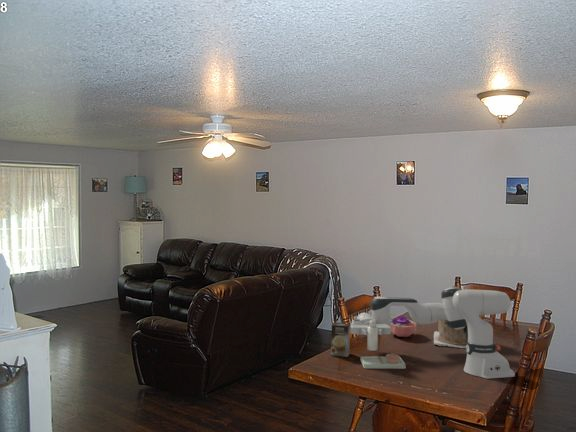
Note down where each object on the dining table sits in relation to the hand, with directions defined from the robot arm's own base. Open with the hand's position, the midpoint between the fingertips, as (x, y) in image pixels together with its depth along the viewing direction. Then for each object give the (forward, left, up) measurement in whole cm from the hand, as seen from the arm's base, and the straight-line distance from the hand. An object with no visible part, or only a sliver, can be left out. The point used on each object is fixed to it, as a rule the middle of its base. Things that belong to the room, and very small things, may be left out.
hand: (372, 333), depth 249 cm
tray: (-5, -1, -16) cm, 16 cm away
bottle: (0, -1, -8) cm, 8 cm away
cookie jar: (-55, -40, -16) cm, 70 cm away
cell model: (-27, -52, -16) cm, 61 cm away
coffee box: (+14, -16, -16) cm, 27 cm away
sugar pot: (-10, -1, -16) cm, 19 cm away
